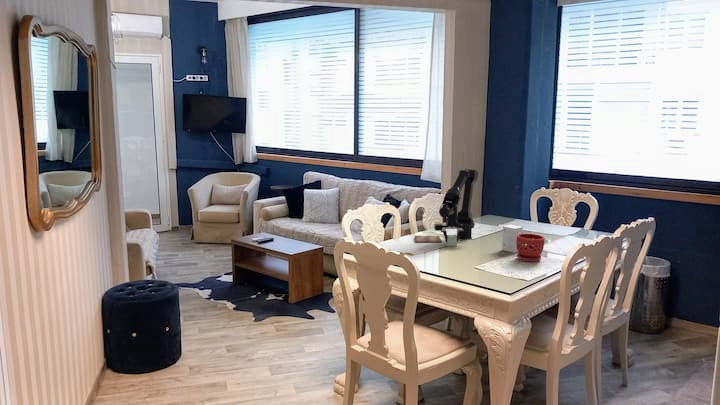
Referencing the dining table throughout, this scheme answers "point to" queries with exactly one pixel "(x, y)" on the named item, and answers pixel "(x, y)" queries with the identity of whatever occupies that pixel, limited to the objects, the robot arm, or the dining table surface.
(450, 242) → the green cube
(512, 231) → the small box
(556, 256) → the dining table surface
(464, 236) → the robot arm
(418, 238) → the walnut board
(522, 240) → the plant pot
